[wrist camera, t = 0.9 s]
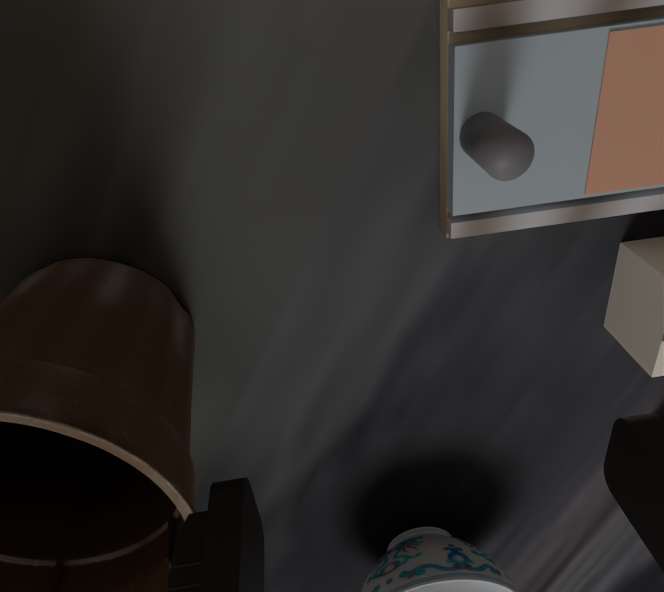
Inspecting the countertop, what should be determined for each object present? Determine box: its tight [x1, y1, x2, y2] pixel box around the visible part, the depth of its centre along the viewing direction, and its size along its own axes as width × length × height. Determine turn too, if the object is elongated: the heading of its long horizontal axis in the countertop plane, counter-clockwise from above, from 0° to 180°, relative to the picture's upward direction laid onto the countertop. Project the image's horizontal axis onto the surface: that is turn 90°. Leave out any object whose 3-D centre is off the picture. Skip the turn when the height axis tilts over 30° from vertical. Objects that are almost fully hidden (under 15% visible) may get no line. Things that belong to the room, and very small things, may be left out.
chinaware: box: [361, 527, 518, 592], centre depth 49 cm, size 15×15×8 cm
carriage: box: [447, 16, 664, 216], centre depth 27 cm, size 16×9×5 cm, turn 96°
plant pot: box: [0, 258, 196, 592], centre depth 29 cm, size 16×16×16 cm
